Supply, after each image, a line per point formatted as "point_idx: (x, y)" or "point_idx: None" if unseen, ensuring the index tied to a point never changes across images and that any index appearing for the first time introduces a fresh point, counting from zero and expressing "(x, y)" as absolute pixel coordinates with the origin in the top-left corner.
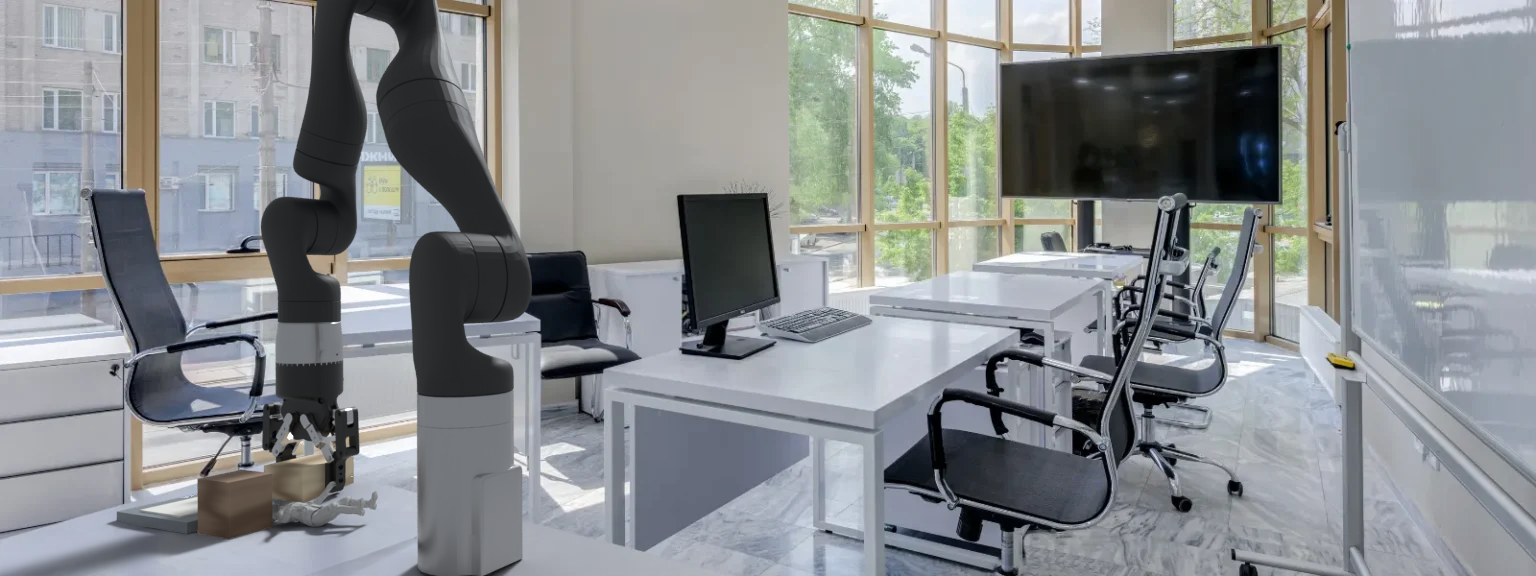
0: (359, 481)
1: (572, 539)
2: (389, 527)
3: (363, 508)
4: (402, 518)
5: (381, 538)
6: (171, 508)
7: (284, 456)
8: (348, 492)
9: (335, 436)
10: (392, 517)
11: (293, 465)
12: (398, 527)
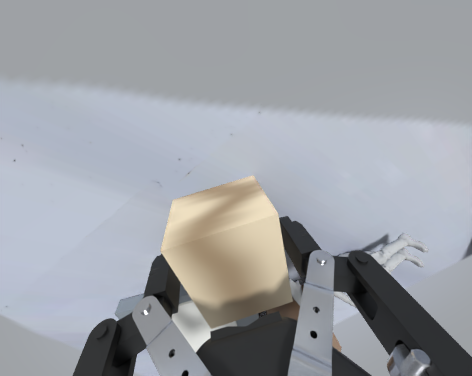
0: (149, 105)
1: None
2: (415, 224)
3: (409, 253)
4: (411, 201)
5: (426, 242)
6: (199, 343)
7: (171, 308)
8: (234, 174)
9: (374, 331)
10: (398, 206)
11: (254, 304)
12: (424, 219)
